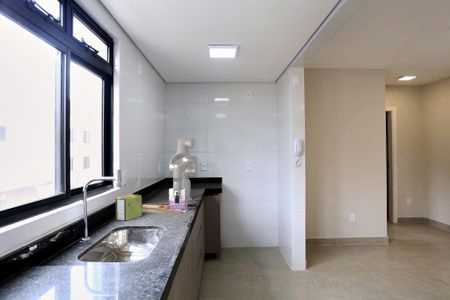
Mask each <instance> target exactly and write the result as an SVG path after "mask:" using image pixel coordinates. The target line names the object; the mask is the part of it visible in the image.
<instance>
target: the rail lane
mask: <svg viewBox="0 0 450 300" xmlns="http://www.w3.org/2000/svg"><path fill="white" fill-rule="evenodd" d="M161 205H162V204H143V203H142V213H160V214H161V213H163V214H168V213H169V214H182V213H183V212H182V209H157V208H158V207H159V206H161Z"/></svg>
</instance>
